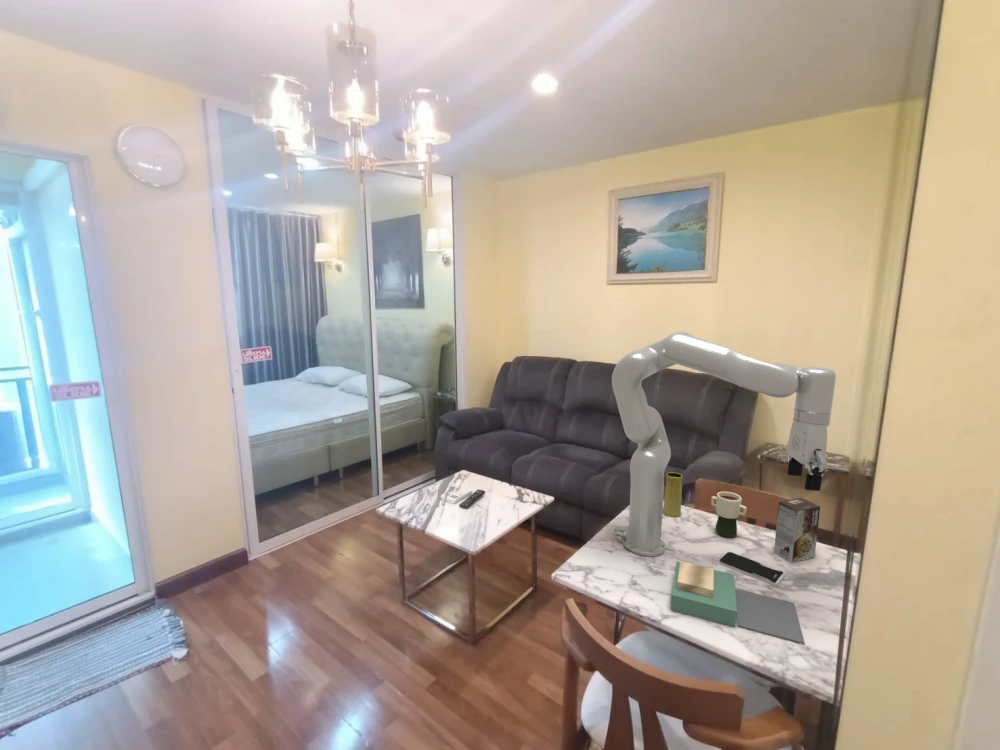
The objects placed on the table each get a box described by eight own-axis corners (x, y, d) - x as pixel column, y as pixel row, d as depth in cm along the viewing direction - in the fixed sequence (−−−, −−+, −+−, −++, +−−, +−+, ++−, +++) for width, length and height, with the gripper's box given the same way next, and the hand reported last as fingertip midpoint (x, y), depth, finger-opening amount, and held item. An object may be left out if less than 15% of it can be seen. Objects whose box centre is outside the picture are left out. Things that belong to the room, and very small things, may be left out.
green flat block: (670, 609, 111) (671, 594, 110) (675, 574, 125) (676, 561, 124) (735, 627, 105) (736, 611, 104) (732, 588, 119) (734, 574, 119)
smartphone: (728, 551, 136) (786, 572, 125) (728, 555, 136) (785, 577, 125) (718, 560, 131) (777, 584, 120) (717, 565, 131) (776, 588, 120)
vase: (659, 509, 164) (662, 471, 162) (676, 509, 165) (678, 471, 163) (667, 517, 158) (670, 478, 156) (684, 517, 159) (687, 477, 157)
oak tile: (676, 589, 112) (677, 581, 112) (679, 567, 121) (680, 560, 121) (712, 597, 109) (713, 590, 109) (712, 575, 118) (713, 568, 118)
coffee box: (795, 546, 140) (801, 497, 137) (815, 557, 134) (821, 506, 131) (772, 551, 137) (778, 500, 134) (792, 563, 131) (798, 510, 128)
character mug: (748, 536, 146) (751, 498, 144) (738, 544, 141) (742, 504, 139) (713, 524, 154) (716, 487, 152) (703, 531, 149) (707, 493, 147)
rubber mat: (737, 626, 105) (737, 625, 105) (735, 590, 118) (735, 588, 118) (804, 644, 100) (804, 642, 100) (793, 604, 113) (794, 602, 113)
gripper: (780, 408, 123) (773, 469, 126) (811, 425, 106) (802, 494, 109) (811, 409, 122) (803, 471, 124) (847, 427, 105) (837, 497, 108)
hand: (802, 482), depth 117 cm, fingers open, 9 cm apart
